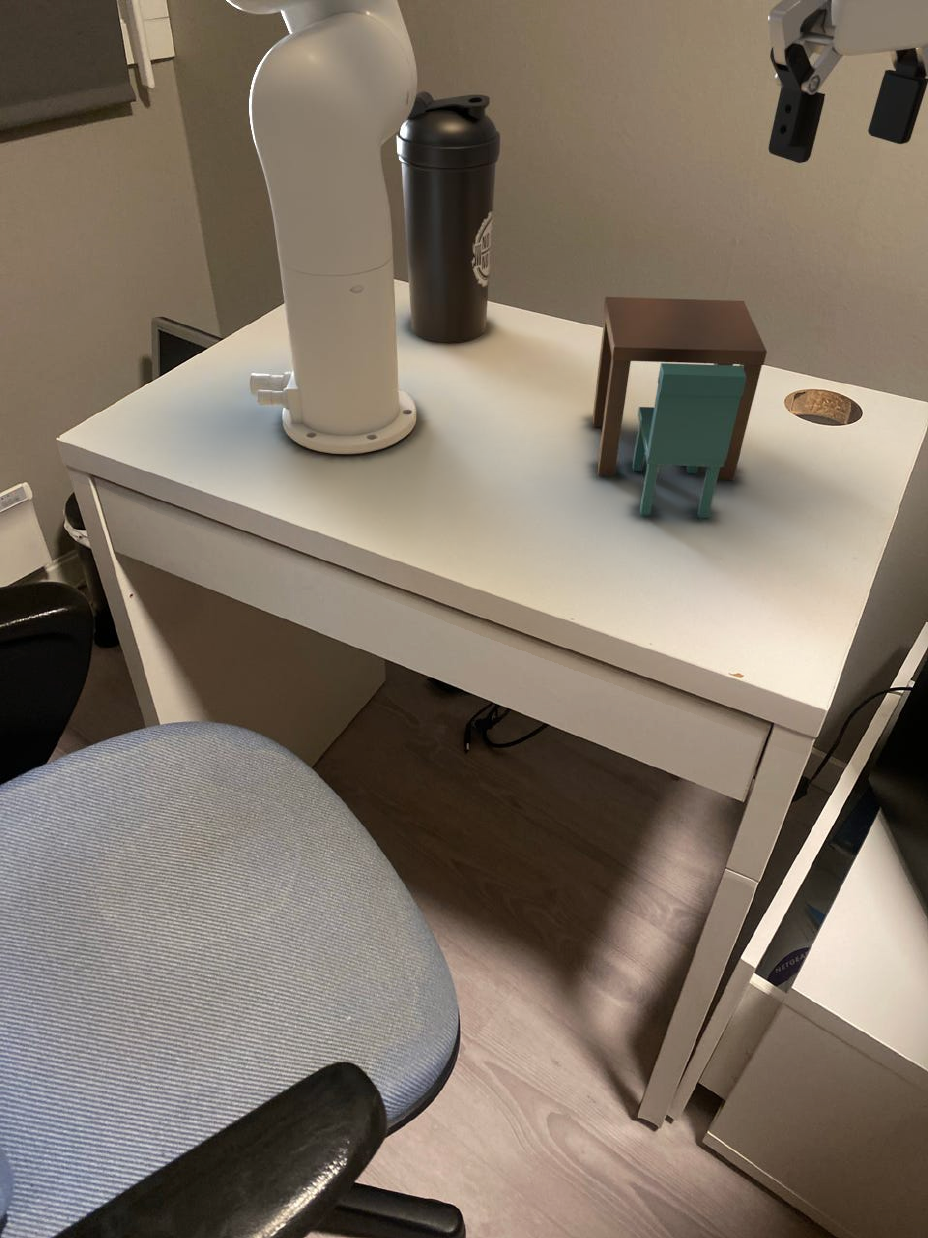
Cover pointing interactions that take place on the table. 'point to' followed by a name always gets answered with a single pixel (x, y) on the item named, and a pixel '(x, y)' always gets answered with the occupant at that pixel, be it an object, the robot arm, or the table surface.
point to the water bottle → (448, 213)
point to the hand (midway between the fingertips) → (839, 147)
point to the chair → (689, 425)
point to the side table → (672, 357)
